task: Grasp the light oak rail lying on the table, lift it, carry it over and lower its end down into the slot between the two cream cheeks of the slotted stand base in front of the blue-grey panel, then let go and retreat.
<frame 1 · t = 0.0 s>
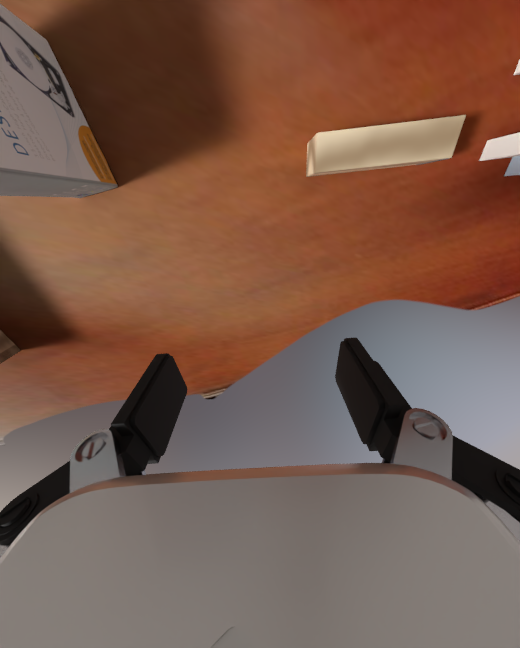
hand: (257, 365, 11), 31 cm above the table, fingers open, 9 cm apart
hard drive box: (67, 130, 28), on the table
rail: (364, 154, 30), on the table
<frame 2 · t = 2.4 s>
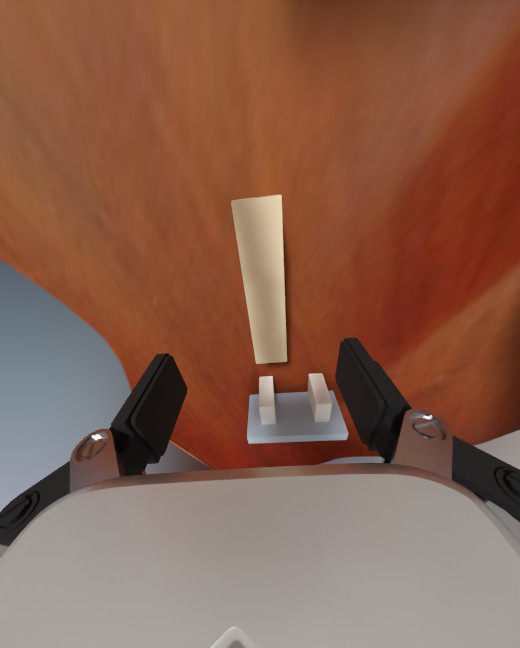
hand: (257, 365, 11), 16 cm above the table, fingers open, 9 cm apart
rail: (265, 279, 25), on the table
slotted stand base: (290, 389, 37), on the table
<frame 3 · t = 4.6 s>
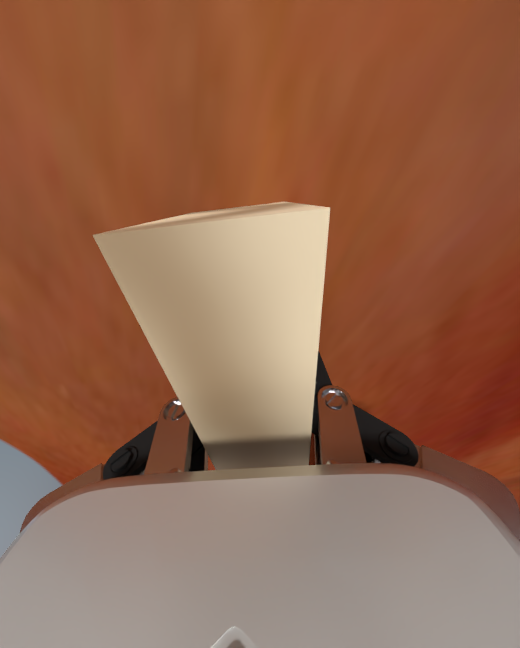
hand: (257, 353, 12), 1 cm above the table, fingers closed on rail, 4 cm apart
rail: (259, 361, 13), on the table, touching gripper
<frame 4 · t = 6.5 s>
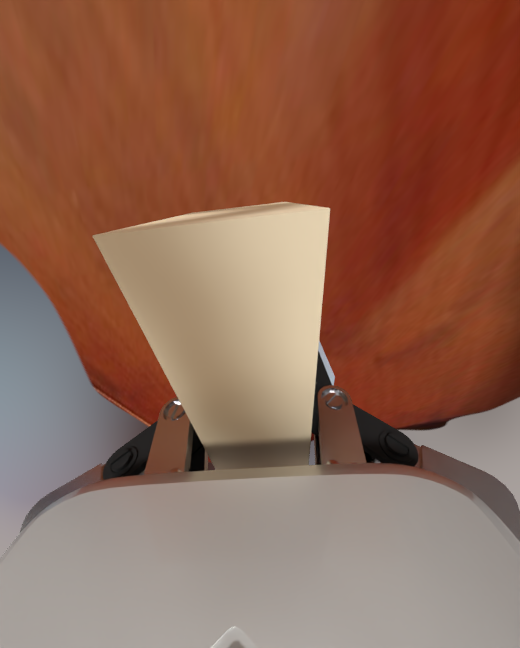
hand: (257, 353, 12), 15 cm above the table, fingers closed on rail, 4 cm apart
rail: (259, 361, 13), point 15 cm above the table, touching gripper
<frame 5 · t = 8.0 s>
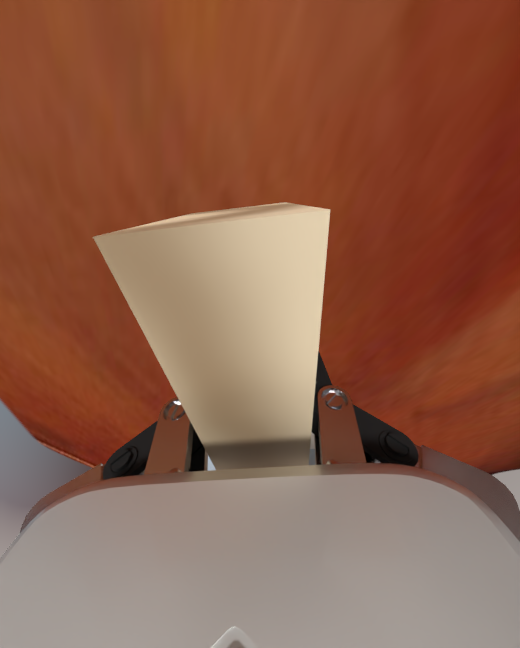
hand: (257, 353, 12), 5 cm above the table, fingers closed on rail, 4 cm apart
rail: (259, 361, 13), point 5 cm above the table, touching gripper
when the fingers open (2 cm above the table, at t = 8.9 s): rail drops 1 cm, on the table.
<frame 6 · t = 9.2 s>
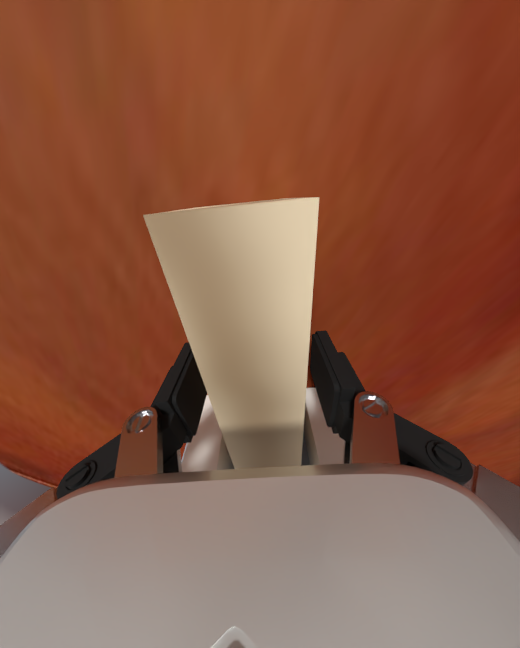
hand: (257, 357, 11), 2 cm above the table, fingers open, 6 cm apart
rail: (260, 346, 14), on the table
slotted stand base: (268, 417, 19), on the table
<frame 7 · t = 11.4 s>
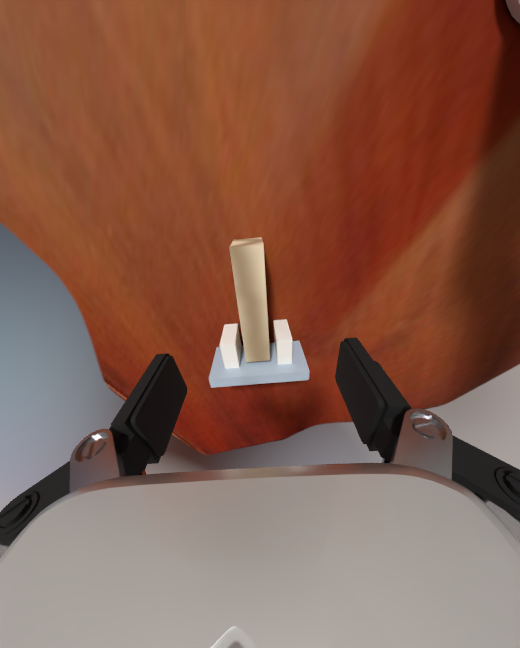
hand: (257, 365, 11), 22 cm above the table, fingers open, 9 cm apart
rail: (253, 296, 32), on the table
slotted stand base: (257, 339, 37), on the table
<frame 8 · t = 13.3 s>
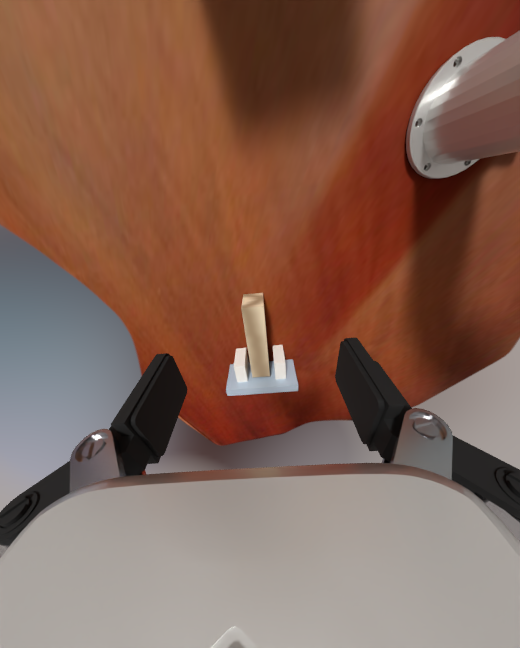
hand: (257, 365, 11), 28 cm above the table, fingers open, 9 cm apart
rail: (257, 329, 44), on the table
slotted stand base: (260, 359, 49), on the table
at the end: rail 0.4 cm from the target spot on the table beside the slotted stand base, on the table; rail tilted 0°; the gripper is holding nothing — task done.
